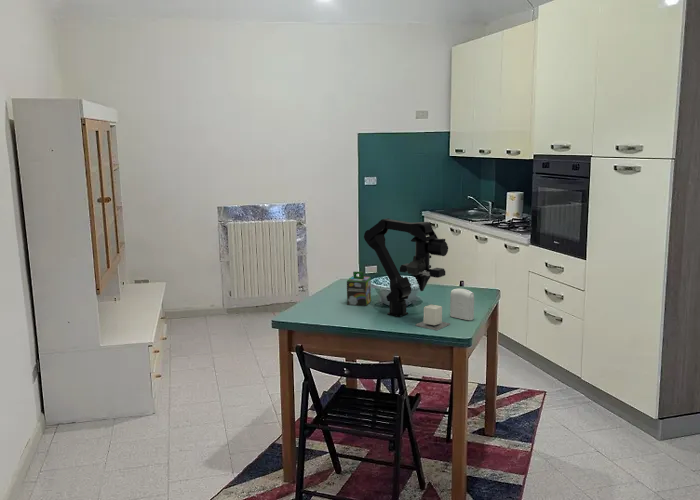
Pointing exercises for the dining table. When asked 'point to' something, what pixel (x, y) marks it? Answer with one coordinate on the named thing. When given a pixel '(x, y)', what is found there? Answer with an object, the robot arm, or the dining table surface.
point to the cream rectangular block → (432, 314)
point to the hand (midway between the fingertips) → (421, 290)
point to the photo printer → (462, 304)
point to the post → (433, 327)
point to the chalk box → (358, 290)
